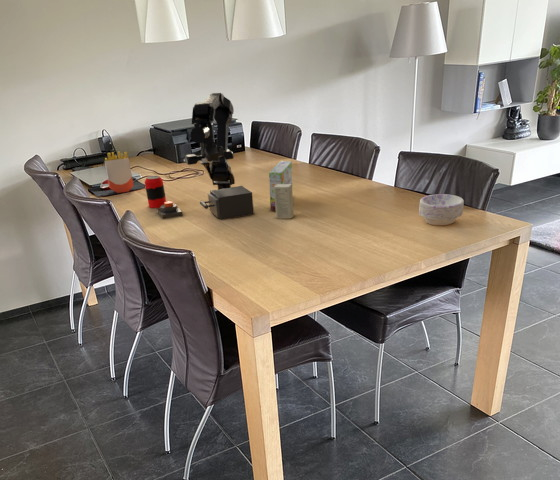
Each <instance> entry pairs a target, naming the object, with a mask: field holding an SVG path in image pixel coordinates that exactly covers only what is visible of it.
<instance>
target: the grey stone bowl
mask: <svg viewBox="0 0 560 480" xmlns="http://www.w3.org/2000/svg"><path fill="white" fill-rule="evenodd" d="M464 206H465V200H464V199H463V198H462V197H461V196H458V195H454V194H448V193H447V194H446V193H445V194H444V193H437V194H430V195H425V196H423V197H421V198H420V200H419V207H418V208H419V209H418V214H419V216H420V217H422V218H424V221H425V222H426V223H427V224H428V225H429V224H430V225H432V226H447V225H448V226H449V225H451V224H453V223H455V221H456V220H457V218H460V217H461V216H463V214H464Z"/></svg>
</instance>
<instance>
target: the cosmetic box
mask: <svg viewBox="0 0 560 480" xmlns="http://www.w3.org/2000/svg"><path fill="white" fill-rule="evenodd" d="M292 192H293V183H292V184H277V185H275V186H274V197H275V209H276V211H275V218H276V219H287V220H288V219H292V218H293V217H294V216H295V208H294V196H293V194H294V193H292Z"/></svg>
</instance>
